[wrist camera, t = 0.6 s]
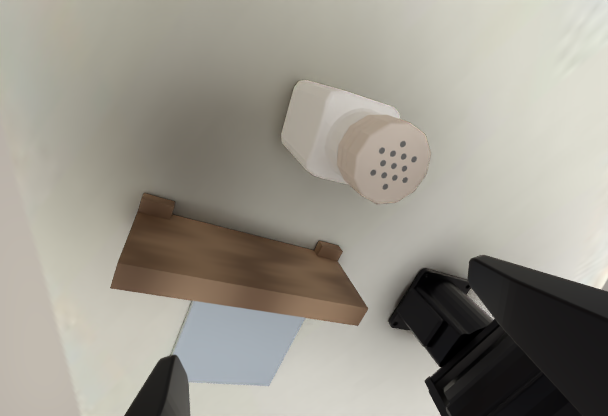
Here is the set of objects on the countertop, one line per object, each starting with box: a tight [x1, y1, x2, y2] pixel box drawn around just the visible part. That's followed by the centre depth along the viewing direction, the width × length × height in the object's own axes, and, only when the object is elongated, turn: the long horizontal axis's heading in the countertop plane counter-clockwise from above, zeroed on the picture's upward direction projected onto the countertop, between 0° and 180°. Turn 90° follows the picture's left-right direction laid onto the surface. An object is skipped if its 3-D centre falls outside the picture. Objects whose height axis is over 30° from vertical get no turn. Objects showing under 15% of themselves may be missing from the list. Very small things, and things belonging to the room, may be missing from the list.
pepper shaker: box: [281, 80, 431, 204], centre depth 16 cm, size 4×4×10 cm
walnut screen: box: [110, 193, 368, 326], centre depth 20 cm, size 14×3×6 cm, turn 65°
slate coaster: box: [171, 301, 305, 386], centre depth 26 cm, size 9×9×1 cm
